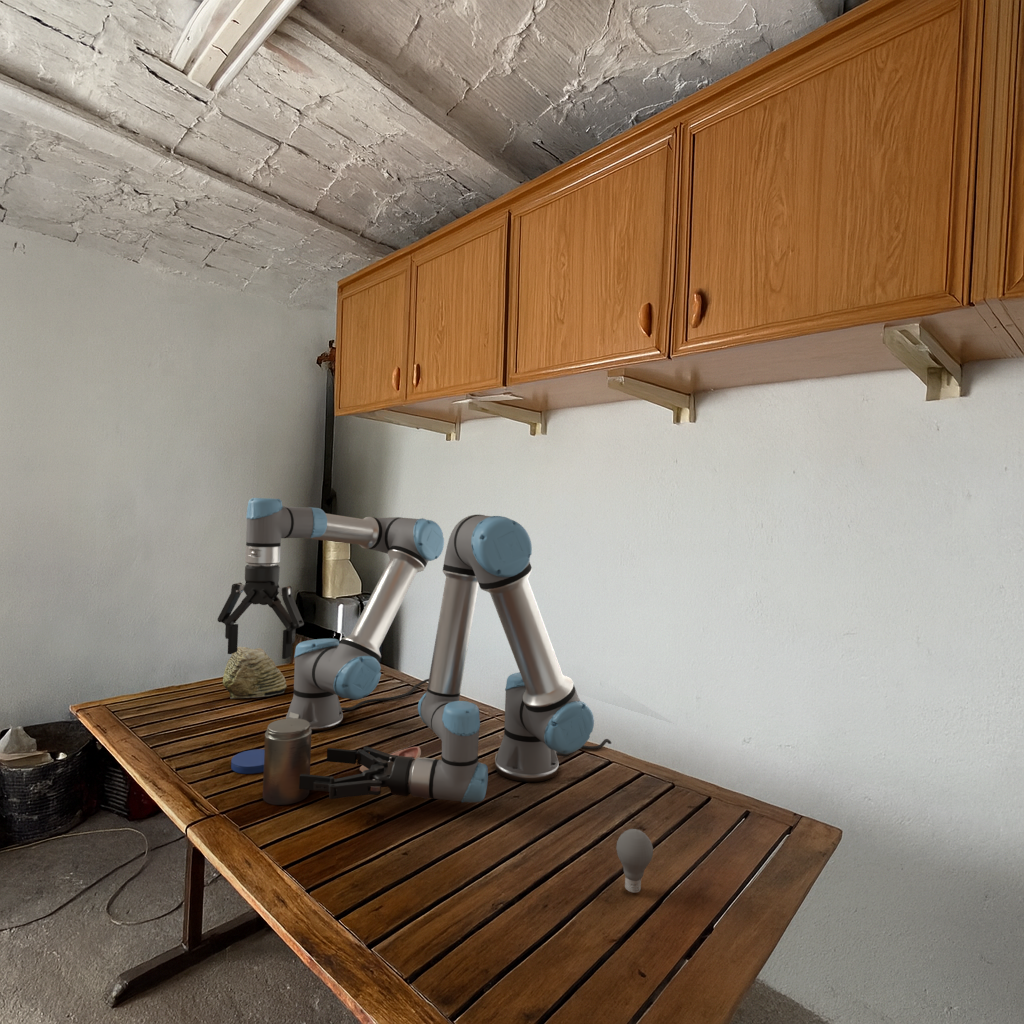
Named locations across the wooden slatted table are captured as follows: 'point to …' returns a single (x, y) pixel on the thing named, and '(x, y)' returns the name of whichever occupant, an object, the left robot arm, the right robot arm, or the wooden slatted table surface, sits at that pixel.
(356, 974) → the wooden slatted table surface
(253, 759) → the lid
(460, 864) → the wooden slatted table surface
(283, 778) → the jar
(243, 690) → the fossil
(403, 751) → the anatomical model
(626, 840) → the light bulb
